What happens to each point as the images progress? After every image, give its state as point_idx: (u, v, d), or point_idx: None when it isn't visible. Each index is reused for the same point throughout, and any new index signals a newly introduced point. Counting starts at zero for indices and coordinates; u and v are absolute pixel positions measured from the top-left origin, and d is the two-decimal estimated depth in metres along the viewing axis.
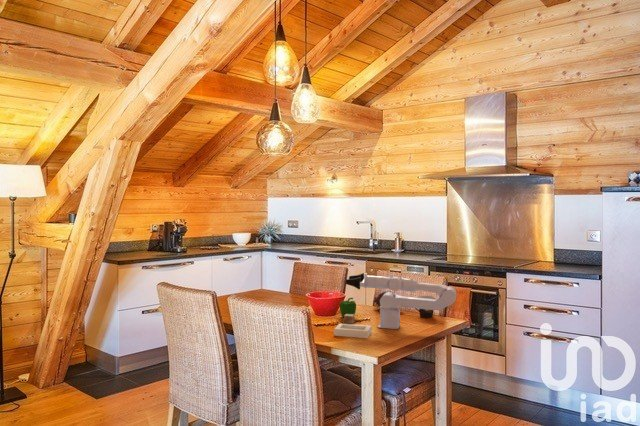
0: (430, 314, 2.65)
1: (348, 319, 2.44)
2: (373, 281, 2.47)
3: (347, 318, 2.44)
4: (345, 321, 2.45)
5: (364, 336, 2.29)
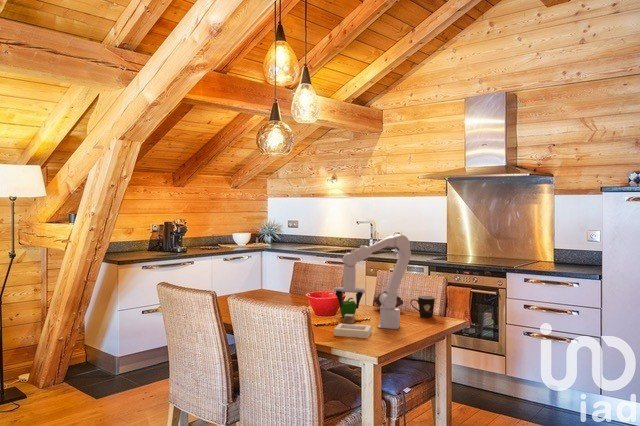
0: (430, 314, 2.65)
1: (348, 319, 2.44)
2: (354, 280, 2.44)
3: (347, 318, 2.44)
4: (345, 321, 2.45)
5: (364, 336, 2.29)
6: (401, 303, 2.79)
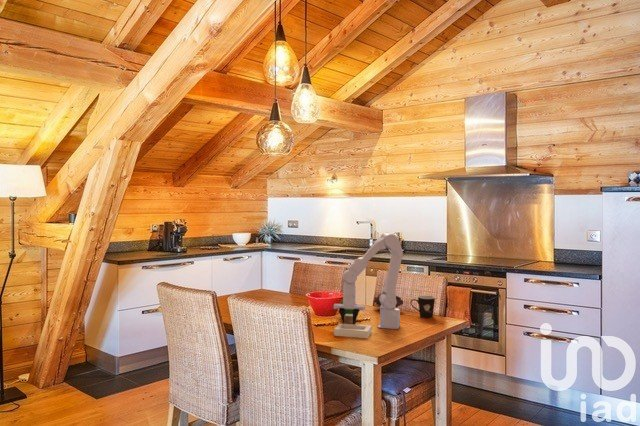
0: (430, 314, 2.65)
1: (348, 319, 2.44)
2: (354, 297, 2.44)
3: (347, 318, 2.44)
4: (345, 321, 2.45)
5: (364, 336, 2.29)
6: (401, 303, 2.79)
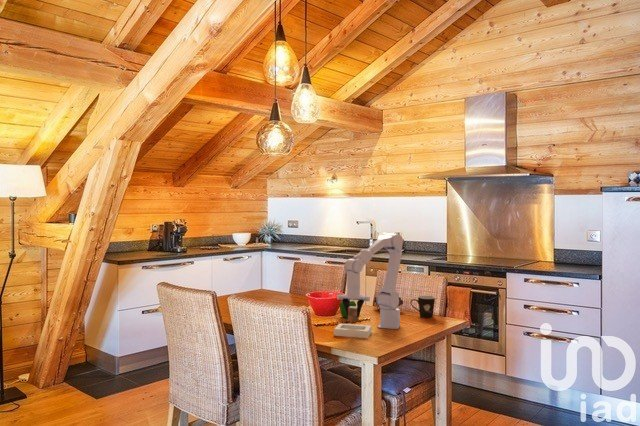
0: (430, 314, 2.65)
1: (352, 311, 2.34)
2: (359, 288, 2.33)
3: (351, 311, 2.34)
4: (349, 313, 2.34)
5: (364, 336, 2.29)
6: (401, 303, 2.79)
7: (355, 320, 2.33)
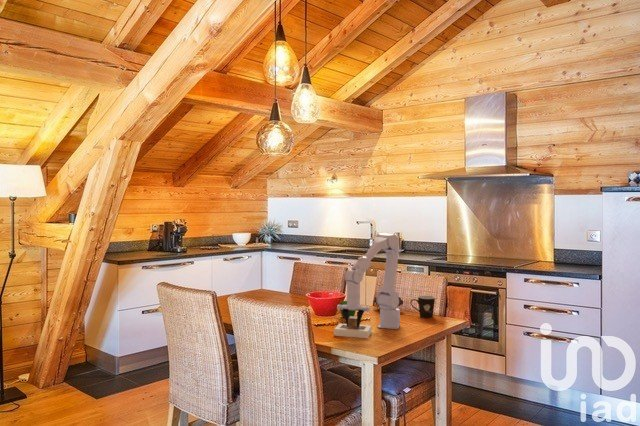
0: (430, 314, 2.65)
1: (352, 321, 2.34)
2: (359, 298, 2.33)
3: (351, 321, 2.34)
4: (349, 324, 2.34)
5: (364, 336, 2.29)
6: (401, 303, 2.79)
7: None
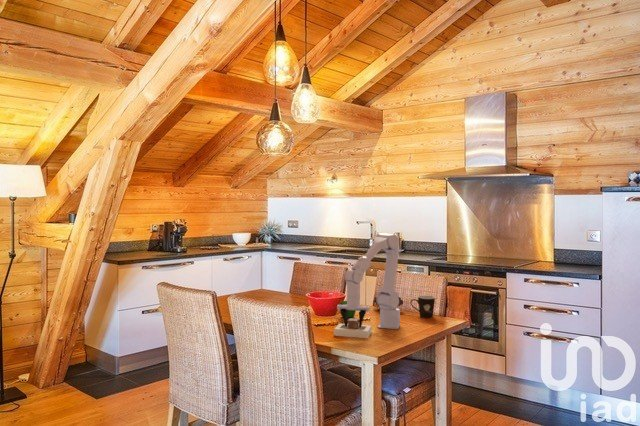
0: (430, 314, 2.65)
1: (352, 324, 2.34)
2: (359, 298, 2.33)
3: (351, 323, 2.34)
4: (349, 326, 2.34)
5: (364, 336, 2.29)
6: (401, 303, 2.79)
7: None
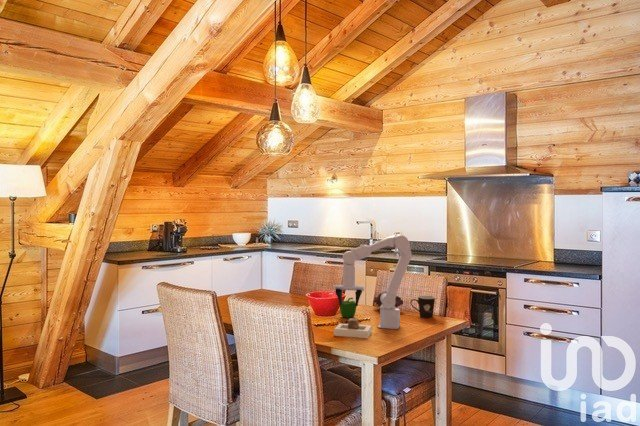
0: (430, 314, 2.65)
1: (352, 324, 2.34)
2: (354, 278, 2.46)
3: (351, 323, 2.34)
4: (349, 326, 2.34)
5: (364, 336, 2.29)
6: (401, 303, 2.79)
7: None
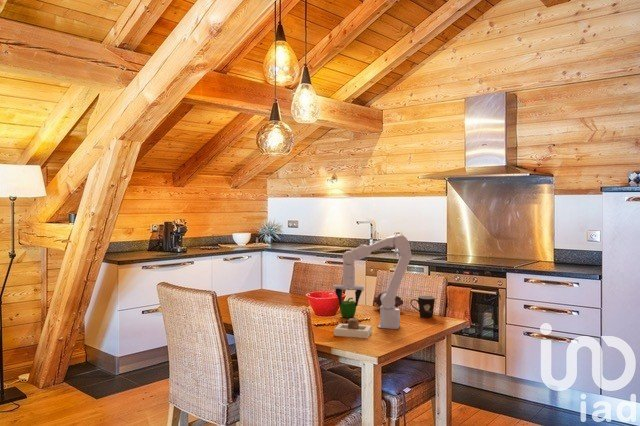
0: (430, 314, 2.65)
1: (352, 324, 2.34)
2: (353, 278, 2.47)
3: (351, 323, 2.34)
4: (349, 326, 2.34)
5: (364, 336, 2.29)
6: (401, 303, 2.79)
7: None
